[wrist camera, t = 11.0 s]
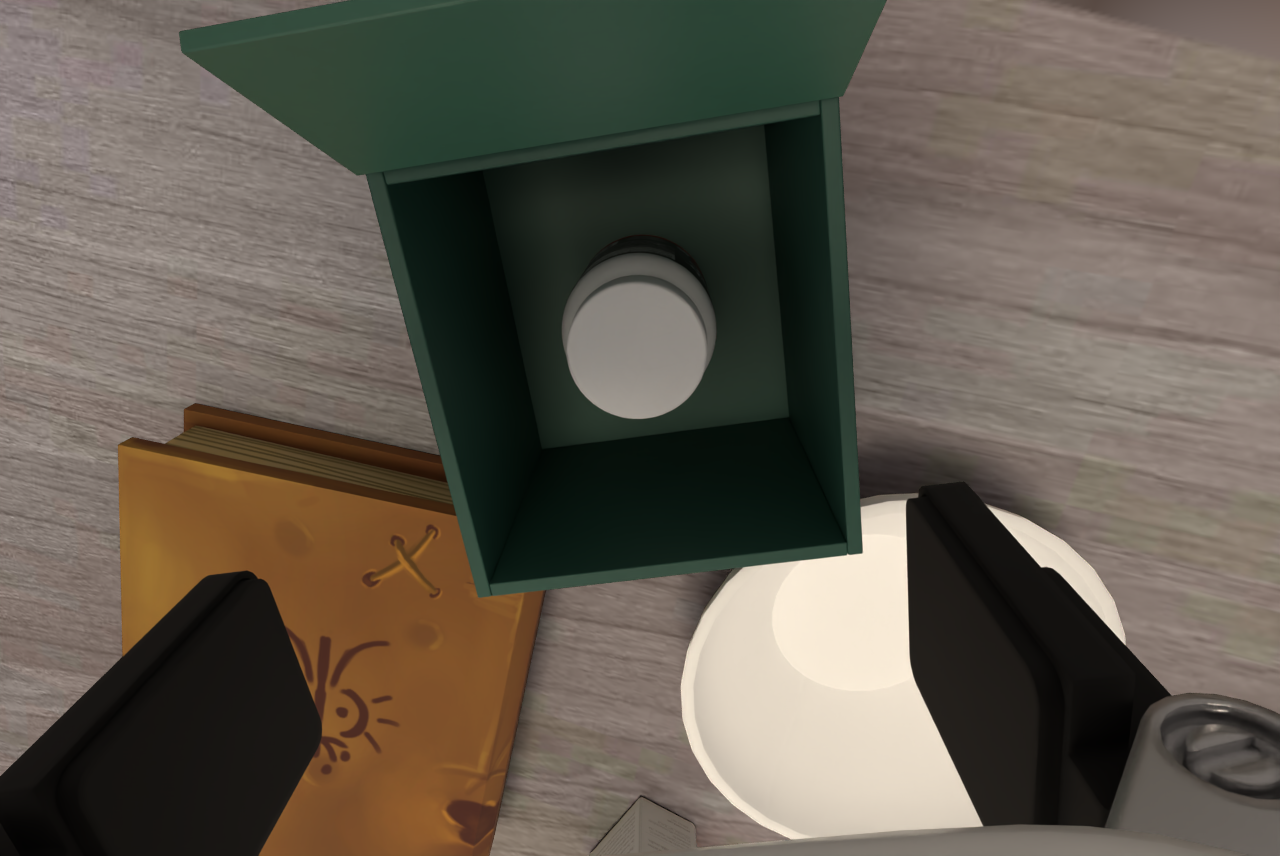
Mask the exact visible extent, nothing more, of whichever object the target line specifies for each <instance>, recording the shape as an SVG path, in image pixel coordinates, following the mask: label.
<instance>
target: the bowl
mask: <svg viewBox="0 0 1280 856" xmlns="http://www.w3.org/2000/svg"><path fill="white" fill-rule="evenodd" d="M918 494H919V493H912V494H890V495H877V496H872V497H868V498H863V499H860V505H861V524H862V543H863V553H862V554H855V555H848V554H847V555H846V556H837V557H829V558H820V559H811V560H803V561H794V562H785V563H777V564H768V565H759V566H751V567H742V568H734V569H733V570H732V571H731V572H730V574H729V575H728V576H727V578H726V579H725V581H724V582H723V583H722V585H721V586H720V587H719V589H718V590H717V592H716V593H715V594H714V596H713V597H712V598H711V600H710V601H709V603H708V604H707V606H706V607H705V609H704V611H703V613H702V615H701V618H700V620H699V622H698V624H697V627H696V629H695V631H694V633H693V636H692V638H691V640H690V643H689V646H688V650H687V655H686V660H685V665H684V671H683V676H682V681H681V699H682V717H683V722H684V725H685V729H686V732H687V735H688V738H689V742H690V745H691V748H692V751H693V753H694V755H695V756H696V758H697V760H698V761H699V763H700V765H701V766H702V768H703V770H704V772H705V773H706V775H707V777H708V778H709V780H710V781H711V782H712V783H713V784H714V785H715V786H716V787H717V789H718V790H719V791H720V792H721V793H722V794H723V795H724V796H725V797H726V798H727V799H728V800H729V801H730V802H731V804H732V805H734V806H735V807H737V808H738V809H739V810H741V811H742V812H744V813H745V814H746V815H748V816H749V817H751V818H752V819H753V820H755V821H756V822H758V823H759V824H760V825H762V826H764V827H766V828H768V829H771V830H773V831H775V832H777V833H779V834H781V835H783V836H785V837H788V838H790V839H804V838H816V837H828V836H840V835H852V834H864V833H876V832H887V831H898V830H919V829H940V828H961V827H980V826H983V825H982V823H981V821H980V818H979V816H978V814H977V812H976V810H975V808H974V806H973V804H972V802H971V799H970V797H969V795H968V793H967V791H966V789H965V787H964V785H963V782H962V780H961V778H960V776H959V774H958V772H957V770H956V768H955V765H954V763H953V761H952V759H951V757H950V755H949V753H948V751H947V749H946V746H945V744H944V742H943V740H942V738H941V736H940V734H939V732H938V729H937V727H936V725H935V723H934V721H933V719H932V717H931V715H930V712H929V710H928V708H927V706H926V704H925V702H924V700H923V698H922V696H921V693H920V691H919V689H918V687H917V685H916V682H915V680H914V677H913V673H912V669H911V664H910V655H909V618H908V579H907V541H906V502H907V500H908V499H909V498H918ZM984 504H985V503H984ZM985 505H986V506H987V507H988V508H989V509H990V510H991V511H992V513H993V514H994V515H995V516H996V517H997V518H998V519H999V520H1000V522H1001V523H1002V524H1003V525H1004V526H1005V527H1006V528H1007V529H1008V531H1009V532H1010V533H1011V534H1012V535H1013V536H1014V537H1015V538H1016V540H1017V541H1018V542H1019V543H1020V544H1021V545H1022V546H1023V547H1024V549H1025V550H1026V551H1027V552H1028V553H1029V554H1030V555H1031V556H1032V558H1033V559H1034V560H1035V561H1036V562H1037V563H1038V564H1039V565H1040V567H1049V568H1053V569H1054V570H1055V571H1057V572H1058V573H1059V574H1060V575H1061V576H1062V577H1063V578H1064V579H1065V580H1066V581H1067V582H1068V583H1069V584H1070V585H1071V587H1072V588H1073V589H1074V590H1075V591H1076V592H1077V593H1078V594H1079V595H1080V596H1081V597H1082V599H1083V600H1084V601H1085V602H1086V603H1087V604H1088V605H1089V606H1090V607H1091V608H1092V609H1093V611H1094V612H1095V613H1096V614H1097V615H1098V616H1099V617H1100V618H1101V619H1102V620H1103V621H1104V623H1105V624H1106V625H1107V626H1108V627H1109V628H1110V629H1111V630H1112V631H1113V632H1114V633H1115V635H1116V636H1117V637H1118V638H1119V639H1120V640H1121V641H1122V642H1123V643H1124V644H1125V645H1126V643H1125V633H1124V630H1123V627H1122V624H1121V621H1120V618H1119V614H1118V611H1117V608H1116V605H1115V602H1114V600H1113V598H1112V597H1111V595H1110V593H1109V592H1108V590H1107V589H1106V587H1105V586H1104V584H1103V582H1102V581H1101V579H1100V578H1099V576H1098V575H1097V573H1096V572H1095V570H1094V568H1092V567H1091V566H1090V565H1089V564H1088V563H1087V562H1086V561H1085V560H1084V559H1083V558H1082V557H1081V556H1080V555H1079V554H1078V553H1077V552H1075V551H1074V550H1073V549H1072V548H1071V547H1070V546H1069V545H1068V544H1067V543H1066V542H1065V541H1063V540H1062V539H1060V538H1058V537H1057V536H1055V535H1053V534H1051V533H1050V532H1048V531H1046V530H1045V529H1043V528H1041V527H1039V526H1038V525H1036V524H1034V523H1033V522H1031V521H1029V520H1027V519H1026V518H1024V517H1022V516H1020V515H1018V514H1015V513H1012V512H1009V511H1006V510H1003V509H1000V508H997V507H994V506H991V505H988V504H985Z"/></svg>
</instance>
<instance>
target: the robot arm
mask: <svg viewBox="0 0 1280 856" xmlns="http://www.w3.org/2000/svg"><path fill="white" fill-rule="evenodd" d="M906 541H907V579H908V618H909V655H910V664H911V669H912V673H913V677H914V680H915V682H916V685H917V687H918V689H919V691H920V693H921V696H922V698H923V700H924V702H925V704H926V706H927V708H928V710H929V712H930V715H931V717H932V719H933V721H934V723H935V725H936V727H937V729H938V732H939V734H940V736H941V738H942V740H943V742H944V744H945V746H946V749H947V751H948V753H949V755H950V757H951V759H952V761H953V763H954V765H955V768H956V770H957V772H958V774H959V776H960V778H961V780H962V782H963V785H964V787H965V789H966V791H967V793H968V795H969V797H970V799H971V802H972V804H973V806H974V808H975V810H976V812H977V814H978V816H979V818H980V821H981V823H982V825H983V826H980V827H961V828H940V829H919V830H898V831H887V832H876V833H864V834H852V835H840V836H828V837H816V838H804V839H792V840H781V841H769V842H757V843H745V844H734V845H722V846H710V847H698V848H687V849H675V850H663V851H651V852H639V853H628V854H616V855H604V856H1280V714H1278V713H1276V712H1274V711H1272V710H1269V709H1266V708H1264V707H1261V706H1258V705H1256V704H1253V703H1250V702H1248V701H1245V700H1240V699H1236V698H1231V697H1227V696H1222V695H1217V694H1201V693H1186V694H1180V695H1174V696H1171V694H1170V693H1169V692H1168V691H1167V690H1166V689H1165V688H1164V687H1163V686H1162V685H1161V684H1160V682H1159V681H1158V680H1157V679H1156V678H1155V677H1154V676H1153V675H1152V674H1151V673H1150V672H1149V671H1148V669H1147V668H1146V667H1145V666H1144V665H1143V664H1142V663H1141V662H1140V661H1139V660H1138V659H1137V657H1136V656H1135V655H1134V654H1133V653H1132V652H1131V651H1130V650H1129V649H1128V648H1127V647H1126V645H1125V644H1124V643H1123V642H1122V641H1121V640H1120V639H1119V638H1118V637H1117V636H1116V635H1115V633H1114V632H1113V631H1112V630H1111V629H1110V628H1109V627H1108V626H1107V625H1106V624H1105V623H1104V621H1103V620H1102V619H1101V618H1100V617H1099V616H1098V615H1097V614H1096V613H1095V612H1094V611H1093V609H1092V608H1091V607H1090V606H1089V605H1088V604H1087V603H1086V602H1085V601H1084V600H1083V599H1082V597H1081V596H1080V595H1079V594H1078V593H1077V592H1076V591H1075V590H1074V589H1073V588H1072V587H1071V585H1070V584H1069V583H1068V582H1067V581H1066V580H1065V579H1064V578H1063V577H1062V576H1061V575H1060V574H1059V573H1058V572H1057V571H1055V570H1054V569H1053V568H1049V567H1040V565H1039V564H1038V563H1037V562H1036V561H1035V560H1034V559H1033V558H1032V556H1031V555H1030V554H1029V553H1028V552H1027V551H1026V550H1025V549H1024V547H1023V546H1022V545H1021V544H1020V543H1019V542H1018V541H1017V540H1016V538H1015V537H1014V536H1013V535H1012V534H1011V533H1010V532H1009V531H1008V529H1007V528H1006V527H1005V526H1004V525H1003V524H1002V523H1001V522H1000V520H999V519H998V518H997V517H996V516H995V515H994V514H993V513H992V511H991V510H990V509H989V508H988V507H987V506H986V505H985V504H984V502H983V501H982V500H981V499H980V498H979V497H978V496H977V495H976V493H975V492H974V491H973V490H972V489H971V488H970V487H969V486H968V484H966V483H965V482H955V483H947V484H939V485H931V486H923V487H921V488H920V490H919V494H918V498H909V499H908V500H907V502H906ZM321 737H322V722H321V719H320V716H319V713H318V711H317V708H316V705H315V703H314V700H313V698H312V695H311V692H310V690H309V687H308V685H307V682H306V680H305V677H304V674H303V672H302V669H301V667H300V664H299V661H298V659H297V656H296V654H295V651H294V648H293V646H292V643H291V641H290V638H289V635H288V633H287V630H286V628H285V625H284V622H283V620H282V617H281V615H280V612H279V610H278V607H277V604H276V602H275V599H274V597H273V594H272V591H271V589H270V587H269V585H268V583H267V582H266V581H265V580H263V579H258V578H257V576H256V575H255V574H254V573H253V572H250V571H247V570H246V571H238V572H230V573H222V574H214V575H208V576H206V577H205V578H203V579H202V580H201V581H200V582H199V583H198V584H197V585H196V586H195V587H194V588H192V589H191V590H190V591H189V592H188V593H187V594H186V595H185V596H184V597H183V598H182V599H181V600H180V601H179V602H178V603H177V604H176V605H175V606H174V607H173V608H172V609H171V610H170V611H169V612H168V613H167V614H166V615H165V616H164V617H163V618H162V619H161V620H160V621H159V622H158V623H157V624H156V625H155V626H154V627H153V628H152V629H151V630H150V631H149V632H147V633H146V634H145V635H144V636H143V637H142V638H141V639H140V640H139V641H138V642H137V643H136V644H135V645H134V646H133V647H132V648H131V649H130V650H129V651H128V652H127V653H126V654H125V655H124V656H123V657H122V658H121V659H120V660H119V661H118V662H117V663H116V664H115V665H114V666H113V667H112V668H111V669H110V670H109V671H108V672H107V673H106V674H105V675H103V676H102V677H101V678H100V679H99V680H98V681H97V682H96V683H95V684H94V685H93V686H92V687H91V688H90V689H89V690H88V691H87V692H86V693H85V694H84V695H83V696H82V697H81V698H80V699H79V700H78V701H77V702H76V703H75V704H74V705H73V706H72V707H71V708H70V709H69V710H68V711H67V712H66V713H65V714H64V715H63V716H62V717H61V718H60V719H58V720H57V721H56V722H55V723H54V724H53V725H52V726H51V727H50V728H49V729H48V730H47V731H46V732H45V733H44V734H43V735H42V736H41V737H40V738H39V739H38V740H37V741H36V742H35V743H34V744H33V745H32V746H31V747H30V748H29V749H28V750H27V751H26V752H25V753H24V754H23V755H22V756H21V757H20V758H19V759H18V760H17V761H16V762H14V763H13V764H12V765H11V766H10V767H9V768H8V769H7V770H6V771H5V772H4V773H3V774H2V775H1V776H0V856H259V854H260V852H261V850H262V848H263V846H264V845H265V843H266V841H267V839H268V837H269V836H270V834H271V832H272V830H273V828H274V827H275V825H276V823H277V821H278V819H279V818H280V816H281V814H282V812H283V810H284V808H285V807H286V805H287V803H288V801H289V799H290V798H291V796H292V794H293V792H294V790H295V789H296V787H297V785H298V783H299V781H300V780H301V778H302V776H303V774H304V772H305V770H306V769H307V767H308V765H309V763H310V761H311V760H312V758H313V756H314V754H315V752H316V751H317V749H318V747H319V744H320V741H321Z"/></svg>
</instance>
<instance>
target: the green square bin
mask: <svg viewBox="0 0 1280 856" xmlns="http://www.w3.org/2000/svg"><path fill="white" fill-rule="evenodd" d="M366 177H367V181H368V184H369V188H370V192H371V196H372V200H373V203H374V207H375V211H376V215H377V218H378V222H379V226H380V230H381V233H382V237H383V241H384V245H385V249H386V252H387V256H388V260H389V264H390V267H391V271H392V275H393V279H394V283H395V286H396V290H397V294H398V298H399V301H400V305H401V309H402V313H403V316H404V320H405V324H406V328H407V332H408V335H409V339H410V343H411V347H412V350H413V354H414V358H415V362H416V365H417V369H418V373H419V377H420V381H421V384H422V388H423V392H424V396H425V399H426V403H427V407H428V411H429V415H430V418H431V422H432V426H433V430H434V433H435V437H436V441H437V445H438V448H439V452H440V456H441V460H442V464H443V467H444V471H445V475H446V479H447V482H448V486H449V490H450V494H451V497H452V501H453V505H454V509H455V513H456V516H457V520H458V524H459V528H460V531H461V535H462V539H463V543H464V547H465V550H466V554H467V558H468V562H469V565H470V569H471V573H472V577H473V580H474V584H475V588H476V592H477V596H478V598H482V597H490V596H499V595H508V594H516V593H525V592H534V591H542V590H551V589H560V588H568V587H577V586H586V585H594V584H603V583H612V582H621V581H629V580H638V579H647V578H655V577H664V576H673V575H681V574H690V573H699V572H707V571H716V570H725V569H733V568H742V567H751V566H759V565H768V564H777V563H785V562H794V561H803V560H811V559H820V558H829V557H837V556H846V555H847V554H848V555H855V554H862V553H863V543H862V524H861V505H860V486H859V468H858V449H857V430H856V411H855V392H854V374H853V355H852V336H851V317H850V298H849V280H848V261H847V242H846V223H845V204H844V186H843V167H842V148H841V129H840V110H839V97H835V98H829V99H822V100H816V101H810V102H804V103H798V104H792V105H786V106H780V107H774V108H767V109H761V110H755V111H749V112H743V113H737V114H731V115H725V116H718V117H712V118H706V119H700V120H694V121H688V122H682V123H676V124H669V125H663V126H657V127H651V128H645V129H639V130H633V131H627V132H620V133H614V134H608V135H602V136H596V137H590V138H584V139H578V140H572V141H565V142H559V143H553V144H547V145H541V146H535V147H529V148H523V149H516V150H510V151H504V152H498V153H492V154H486V155H480V156H474V157H467V158H461V159H455V160H449V161H443V162H437V163H431V164H425V165H419V166H412V167H406V168H400V169H394V170H388V171H382V172H376V173H370V174H366ZM632 235H654V236H658V237H662V238H665V239H668V240H670V241H672V242H674V243H675V244H677V245H679V246H680V247H682V248H683V249H684V250H685V251H686V252H687V253H688V254H689V255H690V256H691V257H692V258H693V259H694V260H695V262H696V263H697V265H698V266H699V268H700V270H701V272H702V274H703V276H704V279H705V282H706V285H707V288H708V292H709V295H710V298H711V301H712V304H713V308H714V311H715V317H716V325H717V335H716V341H715V347H714V351H713V354H712V357H711V360H710V362H709V364H708V366H707V368H706V370H705V371H704V374H703V376H702V379H701V381H700V383H699V384H698V386H697V388H696V389H695V391H694V392H693V393H692V394H691V396H690V397H689V398H688V399H687V400H686V401H684V402H683V403H682V404H681V405H680V406H678V407H677V408H675V409H673V410H671V411H669V412H667V413H665V414H663V415H660V416H656V417H652V418H646V419H631V418H623V417H619V416H616V415H613V414H610V413H608V412H606V411H604V410H602V409H600V408H599V407H597V406H596V405H594V404H593V403H592V402H591V401H590V400H588V399H587V398H586V397H585V395H584V394H583V393H582V392H581V391H580V389H579V388H578V386H577V385H576V383H575V381H574V379H573V377H572V375H571V373H570V370H569V366H568V362H567V357H566V354H565V350H564V346H563V340H562V320H563V314H564V310H565V306H566V303H567V300H568V298H569V295H570V293H571V291H572V290H573V288H574V286H575V285H576V283H577V282H578V280H579V279H580V277H581V276H582V274H583V273H584V271H585V269H586V268H587V266H588V265H589V263H590V262H591V260H592V259H593V258H594V257H595V256H596V255H597V254H598V253H599V252H600V251H601V250H602V249H603V248H605V247H606V246H607V245H609V244H610V243H612V242H614V241H616V240H619V239H621V238H624V237H628V236H632Z"/></svg>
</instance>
